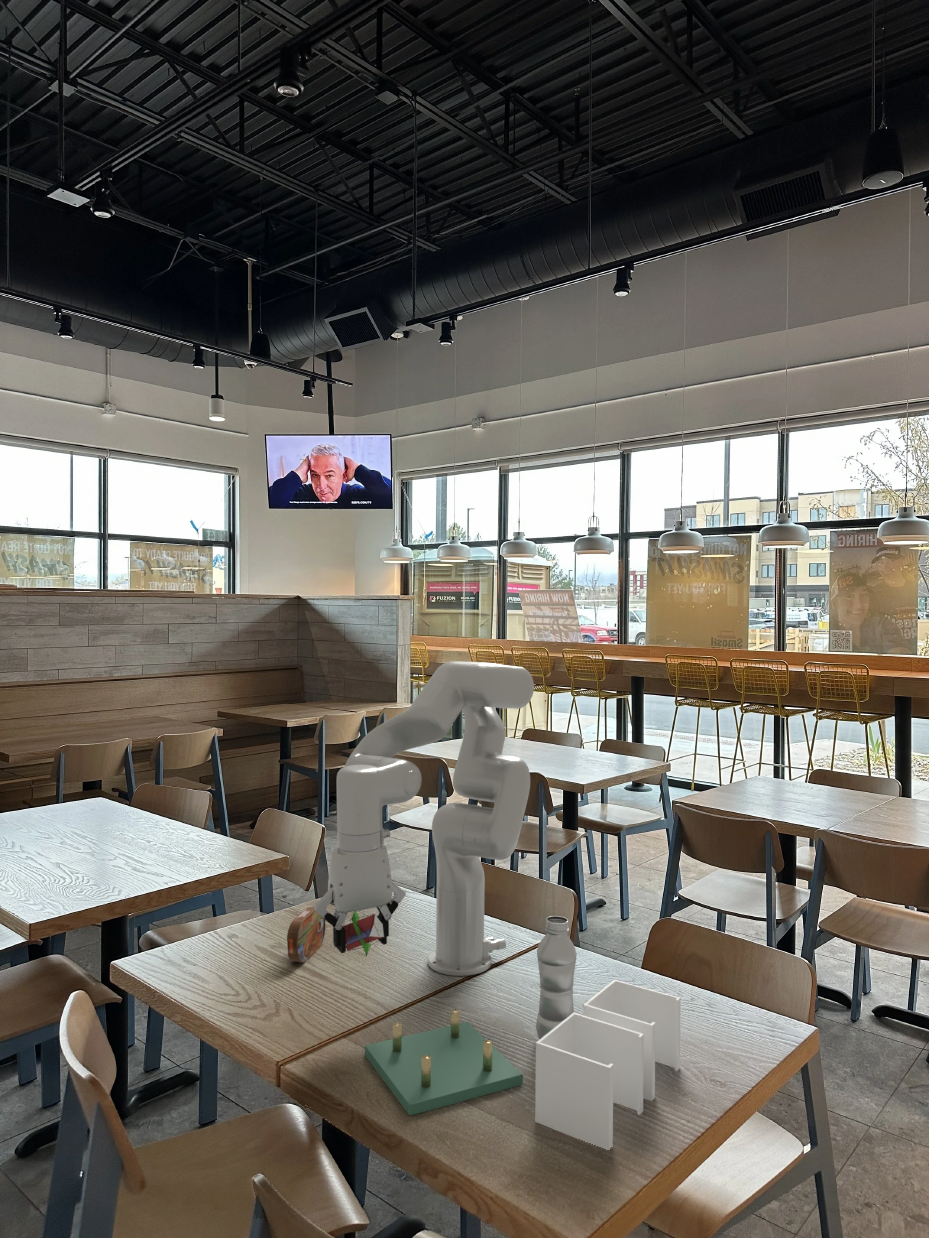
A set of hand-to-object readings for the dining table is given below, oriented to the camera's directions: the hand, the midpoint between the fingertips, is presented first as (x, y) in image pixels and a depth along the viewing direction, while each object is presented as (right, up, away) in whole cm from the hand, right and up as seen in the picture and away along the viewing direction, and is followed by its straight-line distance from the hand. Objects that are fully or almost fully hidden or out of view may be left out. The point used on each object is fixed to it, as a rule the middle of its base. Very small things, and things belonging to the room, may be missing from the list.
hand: (361, 944), depth 142 cm
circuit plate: (+14, -14, -14) cm, 24 cm away
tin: (-15, -14, +30) cm, 36 cm away
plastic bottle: (+32, -14, -6) cm, 35 cm away
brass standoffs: (+14, -12, -14) cm, 23 cm away
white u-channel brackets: (+39, -14, -20) cm, 46 cm away
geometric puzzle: (0, -1, 0) cm, 1 cm away
